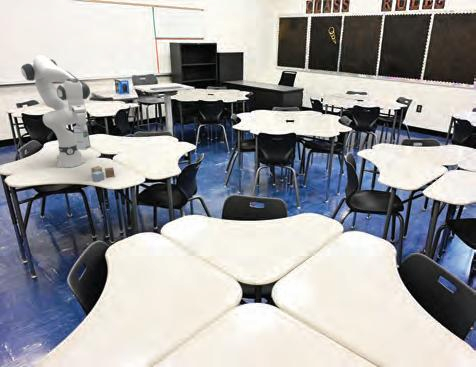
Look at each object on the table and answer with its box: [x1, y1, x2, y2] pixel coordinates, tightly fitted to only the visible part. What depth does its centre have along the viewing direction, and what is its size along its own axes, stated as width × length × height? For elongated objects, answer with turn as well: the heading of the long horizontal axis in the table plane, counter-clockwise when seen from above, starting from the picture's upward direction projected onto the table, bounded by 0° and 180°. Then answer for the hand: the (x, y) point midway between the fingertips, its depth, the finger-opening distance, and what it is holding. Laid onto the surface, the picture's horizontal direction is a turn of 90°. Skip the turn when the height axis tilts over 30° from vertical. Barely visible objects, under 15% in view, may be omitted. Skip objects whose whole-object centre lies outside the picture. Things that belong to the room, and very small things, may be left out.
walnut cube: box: [104, 167, 116, 179], centre depth 226 cm, size 5×5×5 cm
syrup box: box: [72, 124, 92, 151], centre depth 214 cm, size 6×6×14 cm
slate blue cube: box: [91, 171, 105, 183], centre depth 220 cm, size 5×5×5 cm
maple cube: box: [90, 165, 104, 173], centre depth 229 cm, size 5×5×5 cm
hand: (80, 130), depth 213 cm, fingers closed on syrup box, 8 cm apart
